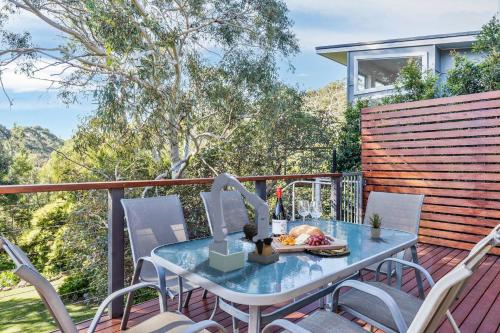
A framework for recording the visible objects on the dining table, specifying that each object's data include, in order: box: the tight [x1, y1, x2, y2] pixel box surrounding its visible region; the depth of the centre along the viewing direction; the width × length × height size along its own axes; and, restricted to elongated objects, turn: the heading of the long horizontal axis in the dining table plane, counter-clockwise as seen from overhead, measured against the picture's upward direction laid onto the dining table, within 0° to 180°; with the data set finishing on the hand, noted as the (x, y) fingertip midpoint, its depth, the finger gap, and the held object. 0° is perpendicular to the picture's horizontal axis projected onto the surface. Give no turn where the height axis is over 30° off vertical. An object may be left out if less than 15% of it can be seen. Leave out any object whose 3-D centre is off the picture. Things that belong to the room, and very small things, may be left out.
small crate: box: [254, 244, 273, 257], centre depth 180 cm, size 5×7×5 cm
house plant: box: [365, 212, 385, 239], centre depth 231 cm, size 14×14×16 cm
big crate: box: [247, 250, 280, 265], centre depth 180 cm, size 10×12×4 cm
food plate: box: [307, 245, 351, 256], centre depth 196 cm, size 25×23×4 cm
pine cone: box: [242, 221, 258, 242], centre depth 225 cm, size 10×18×10 cm, turn 34°
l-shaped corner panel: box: [208, 250, 246, 273], centre depth 169 cm, size 12×12×8 cm
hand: (263, 253), depth 180 cm, fingers closed on small crate, 5 cm apart
